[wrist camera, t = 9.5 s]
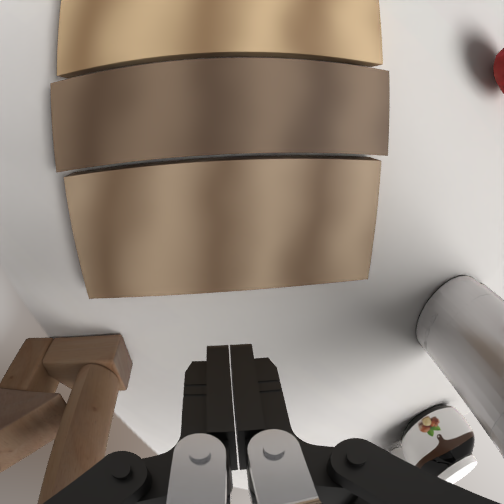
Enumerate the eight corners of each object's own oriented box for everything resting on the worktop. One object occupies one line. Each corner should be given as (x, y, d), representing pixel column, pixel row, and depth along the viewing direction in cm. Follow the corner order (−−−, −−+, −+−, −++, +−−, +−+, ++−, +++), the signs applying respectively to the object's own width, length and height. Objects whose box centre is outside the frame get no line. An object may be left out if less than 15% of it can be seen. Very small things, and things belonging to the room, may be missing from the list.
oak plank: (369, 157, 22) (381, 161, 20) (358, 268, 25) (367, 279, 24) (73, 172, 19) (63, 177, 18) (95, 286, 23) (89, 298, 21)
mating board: (375, 73, 19) (389, 71, 18) (374, 151, 22) (387, 155, 20) (63, 85, 17) (50, 83, 15) (68, 167, 19) (56, 172, 18)
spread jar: (455, 393, 37) (493, 447, 26) (441, 431, 42) (469, 479, 31) (386, 425, 37) (418, 490, 26) (380, 459, 41) (404, 513, 31)
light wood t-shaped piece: (25, 336, 24) (-50, 489, 8) (122, 331, 25) (74, 535, 9) (40, 365, 26) (-18, 514, 9) (134, 363, 27) (105, 552, 10)
